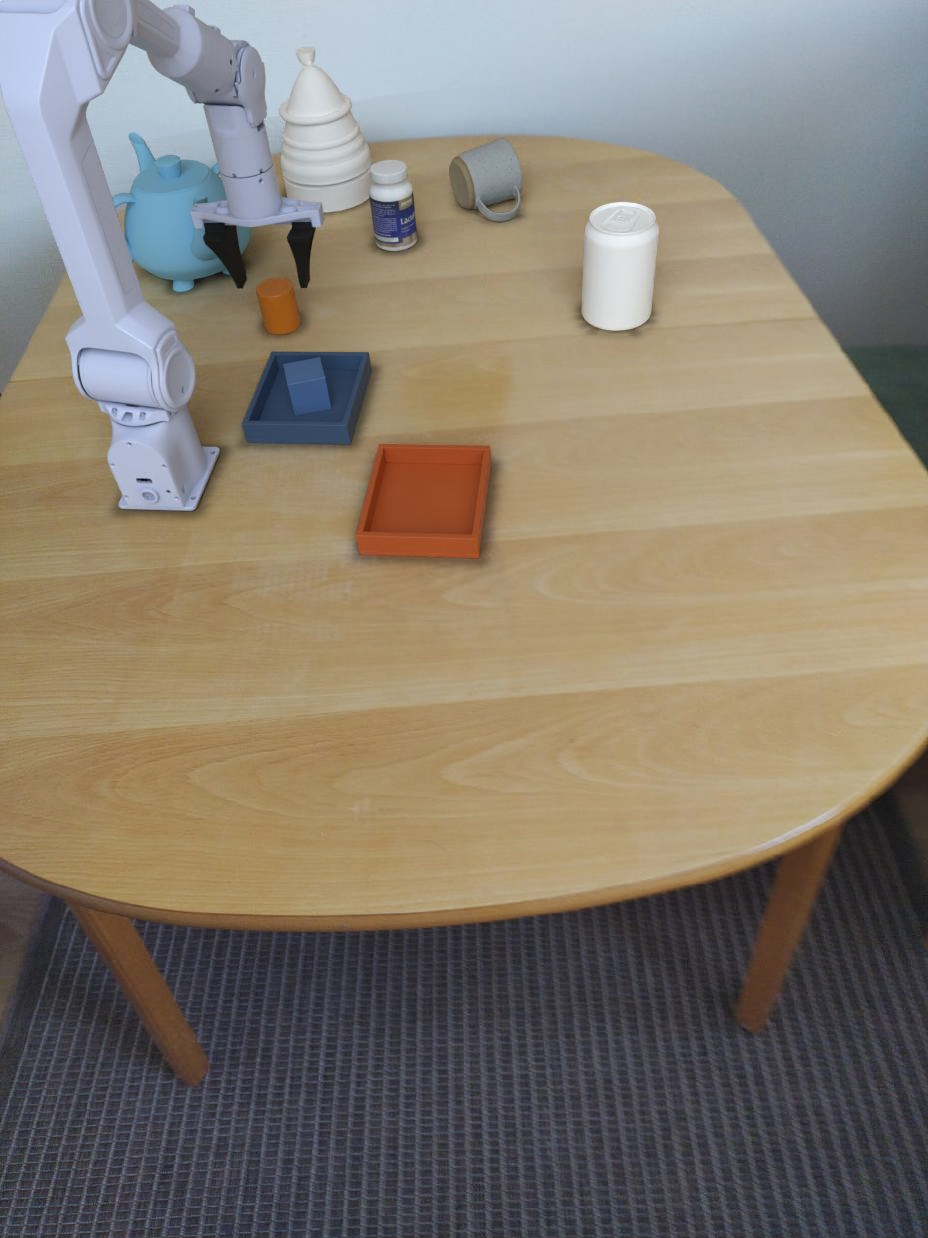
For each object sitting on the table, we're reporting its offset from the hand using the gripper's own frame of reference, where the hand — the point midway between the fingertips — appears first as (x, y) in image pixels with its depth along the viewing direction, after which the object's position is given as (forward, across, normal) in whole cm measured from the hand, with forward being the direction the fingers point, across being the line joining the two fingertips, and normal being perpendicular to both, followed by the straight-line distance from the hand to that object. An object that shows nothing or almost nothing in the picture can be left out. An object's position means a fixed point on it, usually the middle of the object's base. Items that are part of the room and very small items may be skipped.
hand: (273, 283), depth 111 cm
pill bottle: (+6, -11, -20) cm, 24 cm away
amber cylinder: (+5, 0, 0) cm, 5 cm away
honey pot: (+6, +1, -35) cm, 35 cm away
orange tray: (+5, -22, +32) cm, 39 cm away
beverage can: (+6, -40, -2) cm, 40 cm away
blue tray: (+5, -7, +16) cm, 18 cm away
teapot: (+6, +15, -14) cm, 21 cm away
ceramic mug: (+6, -23, -30) cm, 38 cm away
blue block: (+5, -7, +16) cm, 18 cm away
